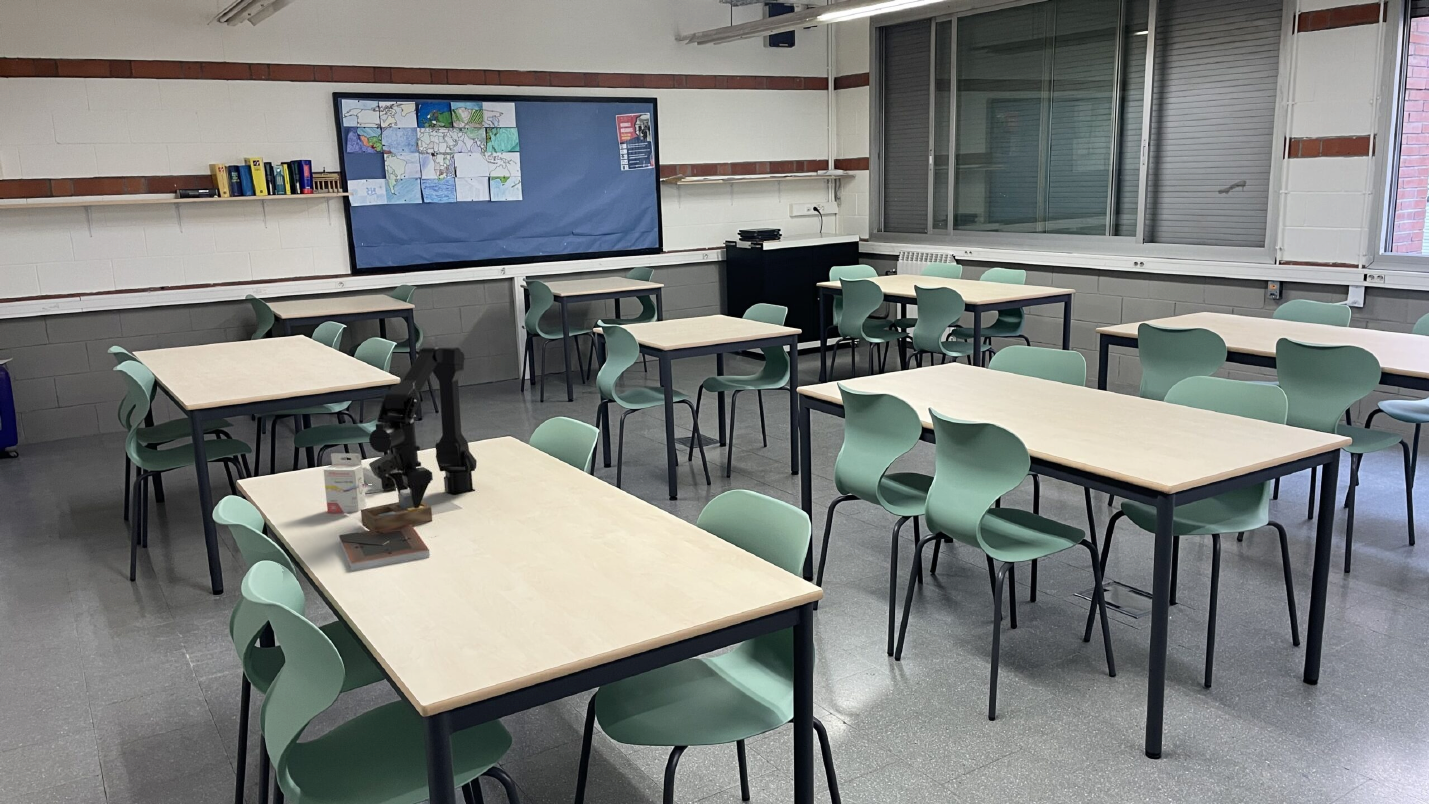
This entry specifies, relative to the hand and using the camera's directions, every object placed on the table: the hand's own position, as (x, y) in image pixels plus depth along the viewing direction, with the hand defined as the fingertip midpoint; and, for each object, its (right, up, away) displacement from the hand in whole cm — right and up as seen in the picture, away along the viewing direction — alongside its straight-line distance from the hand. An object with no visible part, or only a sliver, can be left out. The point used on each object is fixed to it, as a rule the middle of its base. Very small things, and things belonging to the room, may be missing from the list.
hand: (409, 503), depth 252 cm
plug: (0, -4, +1) cm, 4 cm away
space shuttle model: (-20, +2, +37) cm, 42 cm away
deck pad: (+5, -2, +9) cm, 11 cm away
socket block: (-3, -5, -1) cm, 6 cm away
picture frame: (0, -9, -19) cm, 21 cm away
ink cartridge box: (-19, -3, +11) cm, 23 cm away
